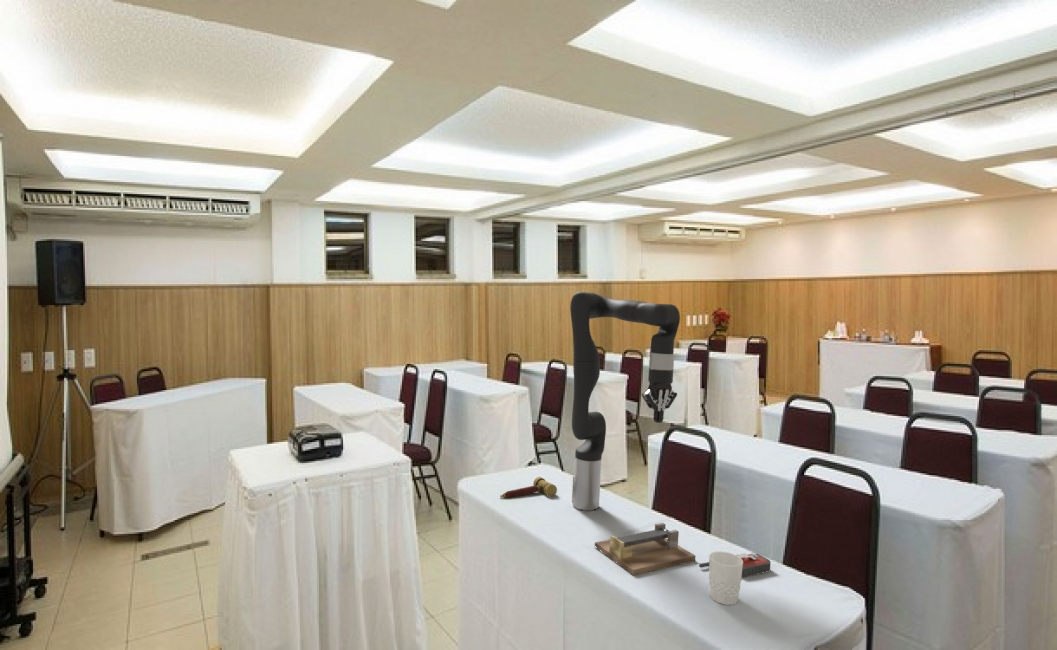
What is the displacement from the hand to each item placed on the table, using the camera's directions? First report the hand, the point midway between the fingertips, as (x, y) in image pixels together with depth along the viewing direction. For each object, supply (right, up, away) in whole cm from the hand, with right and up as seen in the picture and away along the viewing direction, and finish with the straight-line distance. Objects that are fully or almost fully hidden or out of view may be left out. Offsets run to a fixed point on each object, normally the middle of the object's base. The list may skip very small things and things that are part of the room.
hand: (658, 422), depth 177 cm
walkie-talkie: (+16, -37, -22) cm, 46 cm away
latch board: (-8, -35, -15) cm, 39 cm away
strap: (-7, -31, -15) cm, 36 cm away
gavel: (-42, -33, +30) cm, 61 cm away
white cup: (+8, -37, -38) cm, 53 cm away
